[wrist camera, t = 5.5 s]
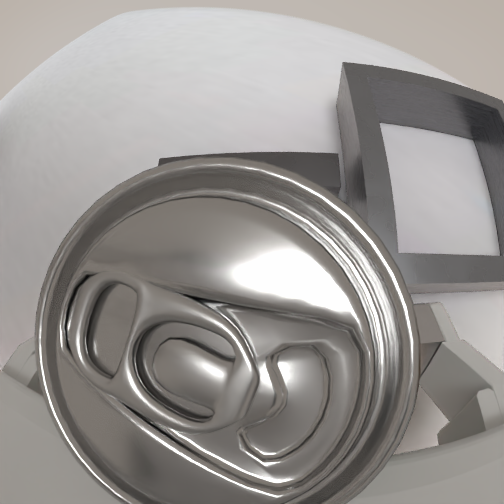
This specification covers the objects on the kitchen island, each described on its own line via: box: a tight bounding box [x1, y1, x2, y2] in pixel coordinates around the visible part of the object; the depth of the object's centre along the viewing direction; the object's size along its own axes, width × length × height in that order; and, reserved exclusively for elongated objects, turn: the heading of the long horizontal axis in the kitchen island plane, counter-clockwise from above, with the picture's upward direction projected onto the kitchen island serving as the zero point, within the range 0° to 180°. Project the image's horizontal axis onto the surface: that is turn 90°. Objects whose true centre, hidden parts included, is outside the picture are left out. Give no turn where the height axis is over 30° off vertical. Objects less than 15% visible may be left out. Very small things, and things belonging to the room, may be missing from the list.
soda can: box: [35, 157, 421, 504], centre depth 8 cm, size 5×5×12 cm
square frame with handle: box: [158, 62, 504, 293], centre depth 13 cm, size 23×12×4 cm, turn 87°
